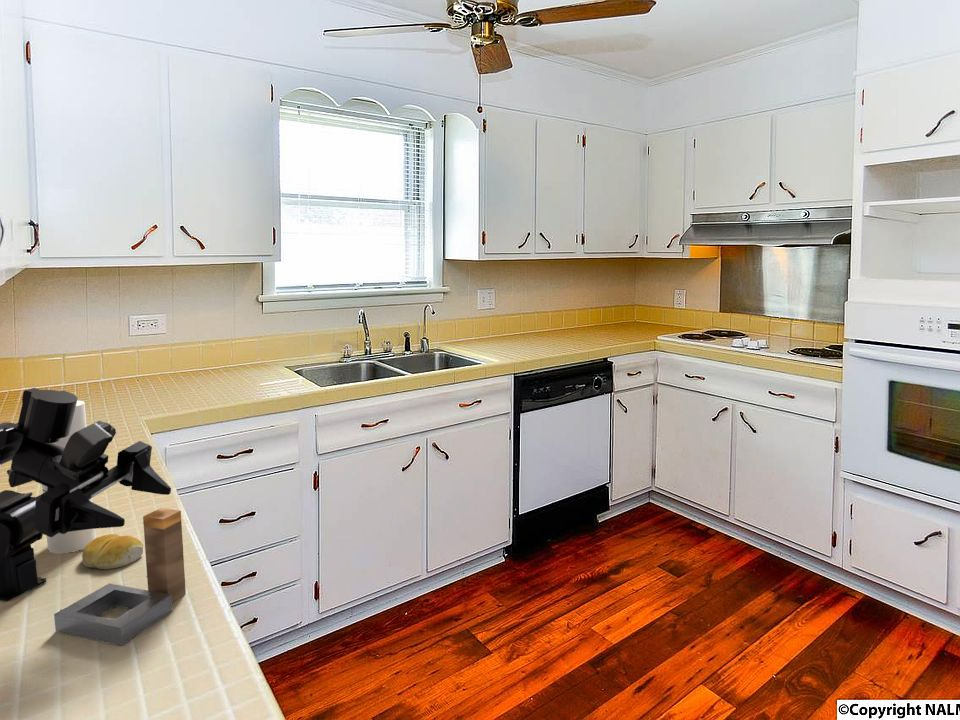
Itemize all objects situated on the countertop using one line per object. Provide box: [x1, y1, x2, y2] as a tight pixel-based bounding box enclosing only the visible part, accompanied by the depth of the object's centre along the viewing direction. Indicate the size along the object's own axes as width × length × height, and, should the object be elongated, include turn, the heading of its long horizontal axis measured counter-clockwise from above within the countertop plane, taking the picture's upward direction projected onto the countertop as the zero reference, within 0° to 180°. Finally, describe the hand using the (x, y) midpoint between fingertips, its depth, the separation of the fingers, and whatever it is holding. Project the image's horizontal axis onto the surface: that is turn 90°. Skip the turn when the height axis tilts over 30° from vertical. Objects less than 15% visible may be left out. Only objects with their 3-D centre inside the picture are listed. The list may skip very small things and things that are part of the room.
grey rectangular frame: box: [53, 583, 173, 647], centre depth 92 cm, size 11×9×2 cm
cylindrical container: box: [41, 399, 97, 554], centre depth 114 cm, size 7×7×25 cm
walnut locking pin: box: [142, 507, 186, 604], centre depth 97 cm, size 4×4×13 cm
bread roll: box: [81, 533, 144, 570], centre depth 111 cm, size 8×9×4 cm
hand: (147, 506), depth 94 cm, fingers open, 9 cm apart
